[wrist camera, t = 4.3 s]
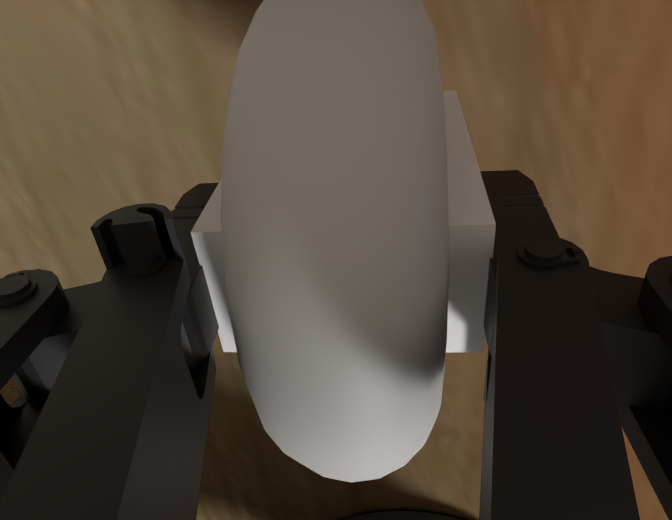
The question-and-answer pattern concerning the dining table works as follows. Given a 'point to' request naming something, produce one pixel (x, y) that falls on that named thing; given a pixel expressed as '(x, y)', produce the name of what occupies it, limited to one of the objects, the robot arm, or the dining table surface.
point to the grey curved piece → (339, 230)
